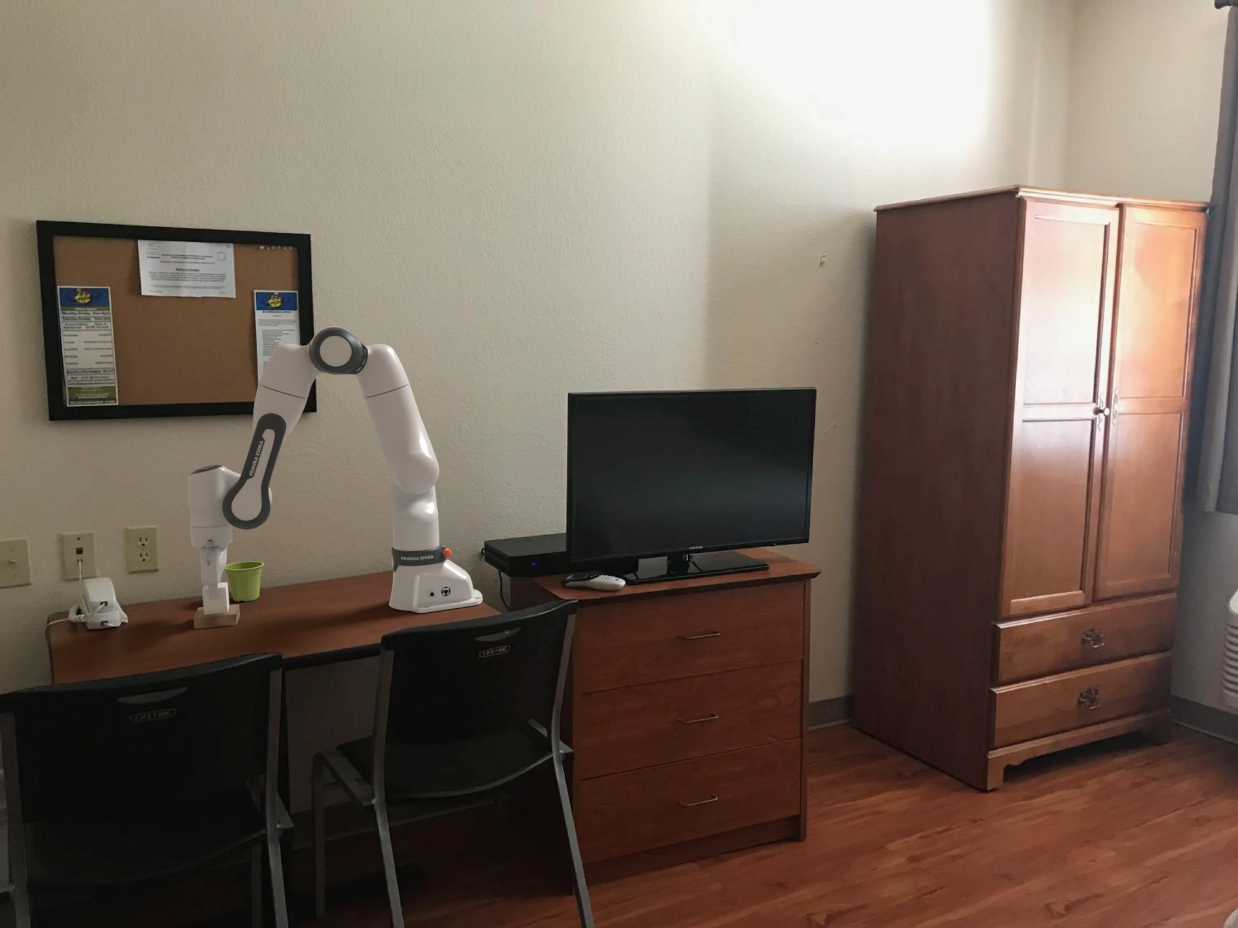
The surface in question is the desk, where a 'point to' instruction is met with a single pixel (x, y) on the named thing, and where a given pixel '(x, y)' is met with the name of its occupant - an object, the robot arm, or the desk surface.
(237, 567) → the plant pot
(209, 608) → the white block
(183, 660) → the desk surface
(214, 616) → the walnut slab
